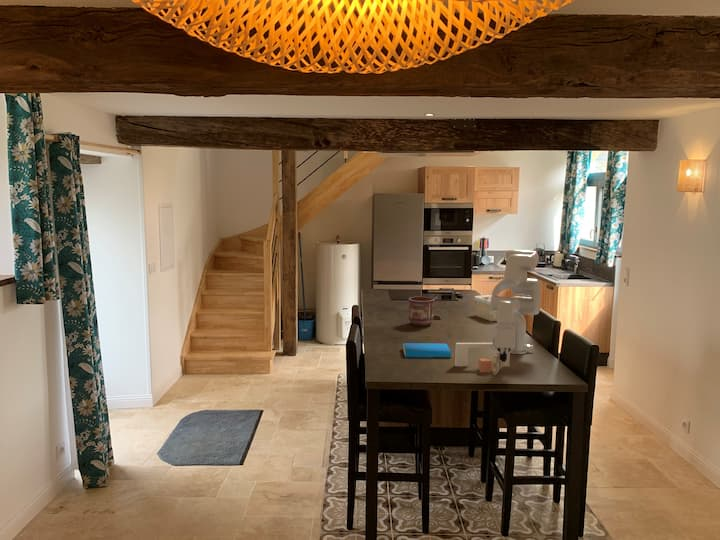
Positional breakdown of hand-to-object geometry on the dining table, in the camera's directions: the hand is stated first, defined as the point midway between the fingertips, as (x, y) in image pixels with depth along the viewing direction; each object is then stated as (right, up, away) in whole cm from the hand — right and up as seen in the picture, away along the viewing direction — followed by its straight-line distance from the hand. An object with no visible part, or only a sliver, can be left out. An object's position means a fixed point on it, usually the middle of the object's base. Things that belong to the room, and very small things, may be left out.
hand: (503, 361), depth 288 cm
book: (-34, -2, +36) cm, 50 cm away
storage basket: (+23, +10, +129) cm, 131 cm away
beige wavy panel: (-1, -6, +5) cm, 8 cm away
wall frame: (-8, -5, +14) cm, 16 cm away
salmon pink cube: (-8, -6, +5) cm, 11 cm away
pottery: (-30, +8, +105) cm, 109 cm away
